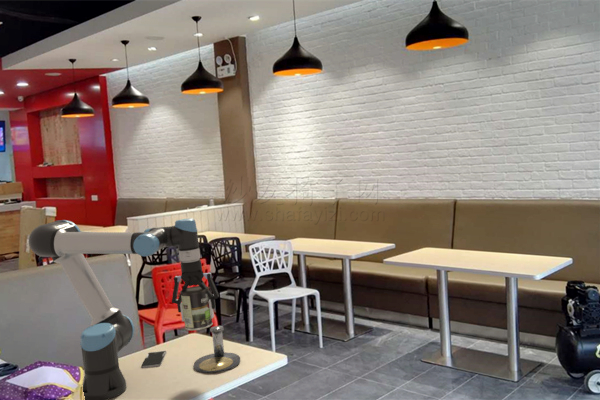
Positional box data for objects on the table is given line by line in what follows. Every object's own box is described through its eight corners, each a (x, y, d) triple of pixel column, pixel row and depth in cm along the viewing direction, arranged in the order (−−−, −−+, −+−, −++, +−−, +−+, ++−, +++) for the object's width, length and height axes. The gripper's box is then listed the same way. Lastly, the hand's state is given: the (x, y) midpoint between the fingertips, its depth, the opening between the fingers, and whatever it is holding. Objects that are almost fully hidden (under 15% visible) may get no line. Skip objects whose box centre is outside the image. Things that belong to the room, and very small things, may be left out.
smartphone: (140, 366, 216) (148, 352, 231) (141, 369, 216) (148, 355, 231) (160, 364, 217) (166, 350, 232) (160, 367, 217) (167, 353, 232)
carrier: (189, 375, 205) (186, 344, 204) (198, 356, 224) (195, 327, 223) (238, 371, 205) (235, 340, 204) (242, 352, 224) (239, 324, 223)
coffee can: (217, 321, 209) (212, 285, 208) (206, 330, 199) (201, 292, 198) (192, 322, 211) (187, 286, 210) (180, 331, 201) (175, 293, 200)
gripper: (157, 265, 200) (165, 325, 202) (219, 259, 199) (226, 318, 201) (163, 261, 207) (170, 318, 209) (222, 255, 207) (229, 312, 208)
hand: (198, 318), depth 205 cm, fingers closed on coffee can, 10 cm apart
